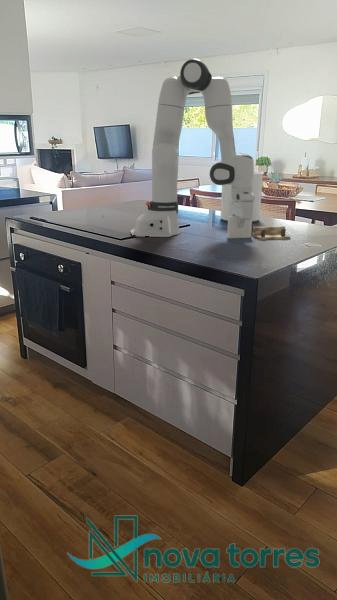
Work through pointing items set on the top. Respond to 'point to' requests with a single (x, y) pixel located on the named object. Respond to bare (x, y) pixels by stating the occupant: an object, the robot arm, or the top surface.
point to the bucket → (256, 203)
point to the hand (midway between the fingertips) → (239, 226)
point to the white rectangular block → (238, 228)
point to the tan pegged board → (270, 233)
